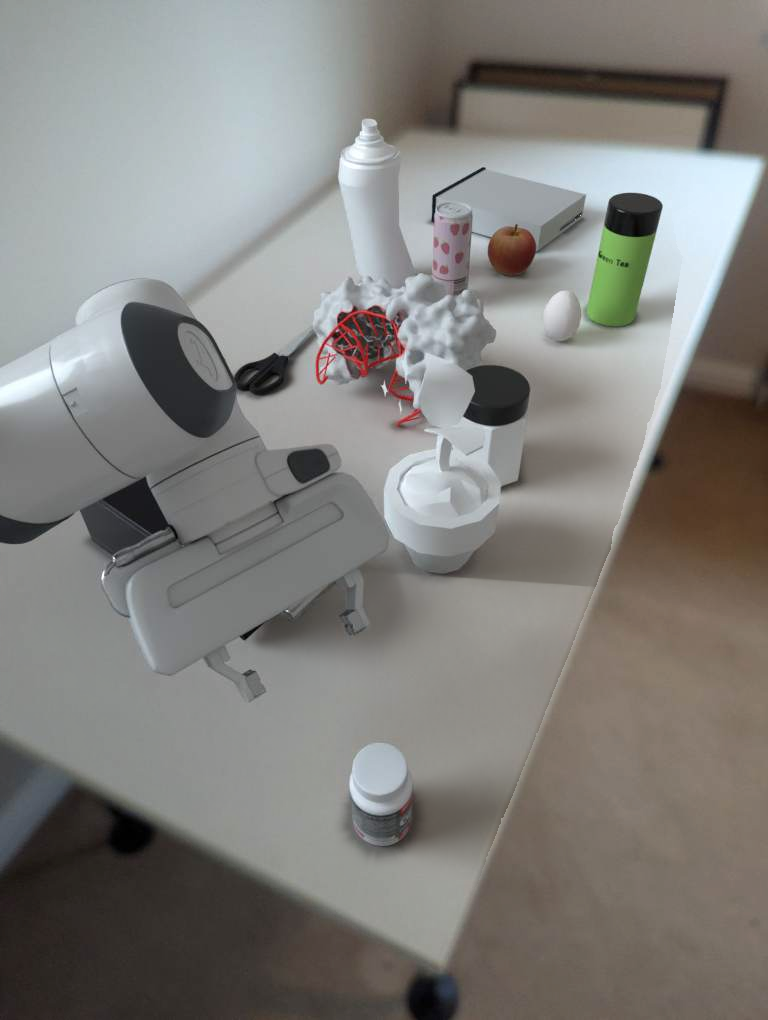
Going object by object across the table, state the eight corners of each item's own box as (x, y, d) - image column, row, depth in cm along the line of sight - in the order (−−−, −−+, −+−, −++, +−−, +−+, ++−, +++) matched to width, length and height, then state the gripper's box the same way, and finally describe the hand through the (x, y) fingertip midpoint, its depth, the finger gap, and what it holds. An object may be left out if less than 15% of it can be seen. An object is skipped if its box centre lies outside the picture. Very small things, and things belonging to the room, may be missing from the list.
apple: (517, 256, 128) (522, 211, 122) (542, 276, 122) (549, 229, 117) (476, 266, 125) (480, 219, 120) (500, 286, 120) (505, 239, 115)
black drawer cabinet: (271, 533, 81) (259, 467, 74) (181, 606, 74) (159, 540, 67) (182, 478, 88) (164, 412, 81) (92, 540, 80) (64, 474, 74)
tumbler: (639, 327, 111) (671, 213, 98) (590, 328, 111) (615, 213, 98) (627, 303, 116) (656, 191, 104) (580, 303, 116) (603, 191, 104)
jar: (450, 442, 92) (455, 360, 83) (515, 445, 91) (527, 363, 83) (449, 491, 85) (455, 408, 77) (520, 494, 85) (533, 410, 76)
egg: (574, 330, 110) (584, 283, 105) (578, 349, 106) (587, 301, 101) (538, 329, 111) (546, 281, 105) (540, 348, 107) (548, 300, 102)
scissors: (300, 317, 113) (226, 386, 101) (299, 312, 113) (224, 381, 100) (338, 327, 111) (267, 399, 99) (338, 322, 111) (266, 393, 98)
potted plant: (380, 517, 82) (375, 319, 65) (483, 511, 83) (506, 312, 65) (389, 607, 73) (386, 404, 56) (504, 599, 74) (537, 396, 56)
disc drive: (480, 192, 148) (482, 166, 145) (582, 219, 138) (587, 192, 135) (430, 221, 138) (431, 195, 135) (536, 253, 129) (540, 225, 125)
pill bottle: (412, 847, 57) (414, 800, 51) (351, 847, 57) (346, 800, 51) (411, 788, 60) (413, 737, 54) (353, 787, 60) (349, 737, 54)
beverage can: (437, 291, 119) (441, 198, 109) (470, 297, 118) (478, 203, 107) (425, 308, 115) (428, 213, 105) (460, 314, 114) (467, 219, 103)
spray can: (369, 309, 115) (364, 140, 98) (335, 282, 122) (324, 119, 104) (429, 289, 120) (434, 123, 102) (393, 264, 126) (392, 104, 109)
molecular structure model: (348, 478, 98) (514, 415, 84) (258, 377, 89) (428, 286, 75) (381, 389, 111) (529, 321, 98) (306, 292, 102) (457, 202, 88)
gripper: (92, 562, 47) (193, 749, 48) (352, 436, 56) (431, 597, 57) (86, 567, 52) (177, 734, 54) (322, 451, 61) (395, 597, 62)
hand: (309, 662), depth 55 cm, fingers open, 8 cm apart
